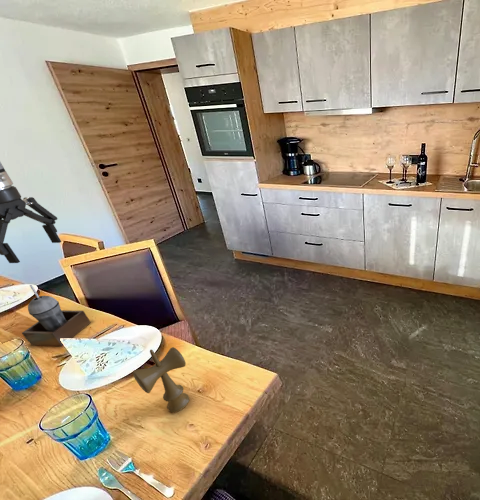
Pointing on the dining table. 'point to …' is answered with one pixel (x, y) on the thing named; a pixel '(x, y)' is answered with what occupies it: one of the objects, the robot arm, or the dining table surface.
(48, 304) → the beverage cup
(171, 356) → the kendama
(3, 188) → the robot arm
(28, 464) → the dining table surface
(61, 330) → the crate
